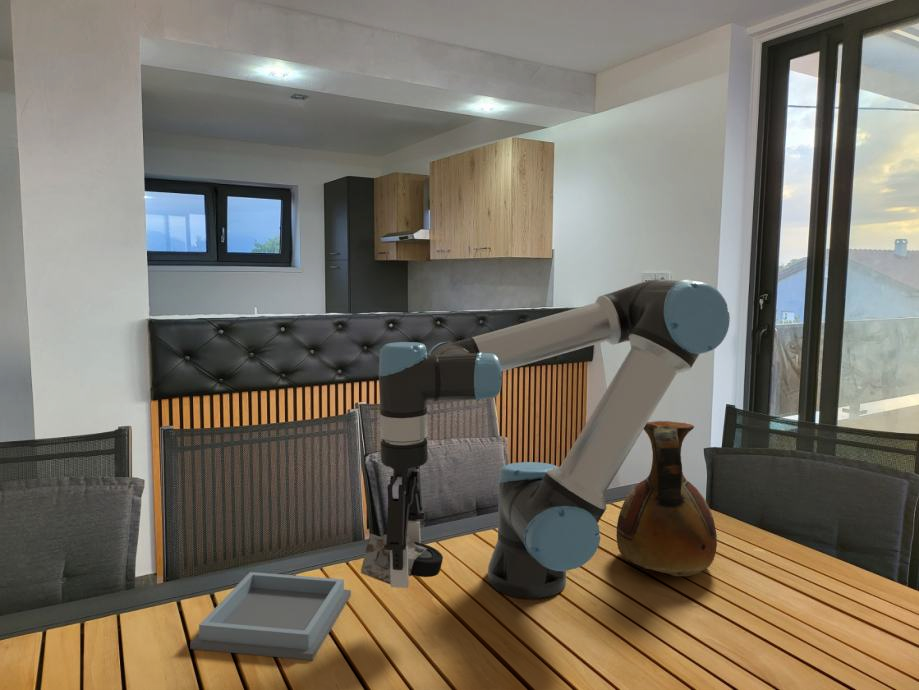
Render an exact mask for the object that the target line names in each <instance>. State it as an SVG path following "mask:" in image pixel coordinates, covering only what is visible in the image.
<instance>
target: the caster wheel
mask: <svg viewBox="0 0 919 690" xmlns="http://www.w3.org/2000/svg"><path fill="white" fill-rule="evenodd" d="M386 540H387V533H385V534H384V535H382V536H379V535H377V534H374V533H369V536H368V541H367V545H366V549H365V553H364V557H363V560H362V565H361V569H360V573H361V574H363V575H365V576H367V577H369V578H373V579H375V580H377V581H379V582H383V583H385V584H388V585H390V586H391V577H390V550H386V549H385V548H384V545H386ZM406 546H408V577H412V576H414V577H419V578H431V577H436V576H437V575H439V573H440V572H441V568H442V565H443V559H444V556H443V555H442V553H441V552H440V551H439V550H438V549H436V548H435V547H432V546H430V545H428V544H425V543H421V542H420V543H418V542H413V540H412V539H411V538H410V537H409V536H408V535H407V539H406Z"/></svg>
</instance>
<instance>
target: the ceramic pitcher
mask: <svg viewBox="0 0 919 690" xmlns="http://www.w3.org/2000/svg"><path fill="white" fill-rule="evenodd" d="M693 429H695V425H693V424H692V423H686V422H677V421H669V420H663V421H662V420H655V421H648V422H647V424H646V425H645V427H644V429H643V430H644V432H645V434H647V436H648V438H649V441H650V444H651V451H652V463H651V469H650V471H649V475H648V476H647V477H646V478H645V479H643V480H641V481H640V482H639V483H638V484H636V485H635V486H634V488H633V489H632V490H630V491H629V493H628V495H627V496H626V497H625V499H624V502H623V504H622V506H621V509H620V511H619V513H618V517H617V518H618V519H617V524H616V543H617V549H618V551H619V553H620V555H622V557H624V558H625V559H626V560H629V561H630V562H632V563H633V564H635V565H637V566H640V567H643V568H644V569H647V570H652V571H656V572H659V573H665V574H668V575H671V576H674V577H689V576H694V575H697V574H699V573H701V572H703V571H705V570H706V569H708V568H710V566H711V565H712V563H713V562H714V560H715V558H716V557H715V556H716V552H717V547H718V541H717V540H718V538H717V537H718V536H717V530H716V524H715V520H714V517H713V513H712V511H711V509H710V507H709V505H708V502H707V500H706V499H705V498H704V496H703V495H702V493H701V492H700V491H699V490H698V489H697V487H695V486H694V485H693V484H692V483H691V482H690V481H688V480H687V478H686V477H685V476H684V475H685V474H684V473H683V465H682V456H681V454H682V444H683V442H684V440H685V437H687V435H688V434H689V433H690V432H691V431H692V430H693Z"/></svg>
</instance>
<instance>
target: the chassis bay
mask: <svg viewBox="0 0 919 690" xmlns="http://www.w3.org/2000/svg"><path fill="white" fill-rule="evenodd" d="M350 597H352V590H351V589H345V579H343V578H332V577H319V576H306V575H293V574H292V575H291V574H280V573H279V574H278V573H266V572H254V571H250V572H248V574H246V575H245V577H243V579H241V581H240V582H239V583H238V584H237V585H236V586H235V587H234V588H233V589H232V590H231V591H230V592H229V593H228V594H227V595H226V596H225V597H224V598H223V599H222V600H221V601H220V603H218V605H217V606H216V607H215V608H214V609H213V610H212V611H211V612H209V614H208V615H207V616H206V617H205V618H204V619H203V620H202V621H201V622H200V623H199V624H198V634H197V635H196V636H195V637H194V638H193V639H192V640H191V641H190V643H189V647H190V650H199V651H210V652H211V651H212V652H222V653H231V654H241V655H242V654H243V655H253V656H263V657H275V658H285V659H286V658H287V659H295V660H306V661H314V659H315V657H316V655H317V653H318V652H319V650H320V649H321V647H322V645H323V644H324V642H325V640H326V639H327V637H328V635H329V633H330V632H331V630H332V629H333V626H334V625H335V623H336V621H337V619H338V618H339V616H340V615H341V613H342V611H343V609H344V608H345V606H346V604H347V602H348V600H350Z"/></svg>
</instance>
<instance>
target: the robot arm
mask: <svg viewBox="0 0 919 690" xmlns="http://www.w3.org/2000/svg"><path fill="white" fill-rule="evenodd" d="M728 309H729V308H728V304H727V301H726V299H725V298H724V296H723V295H722V293H721V291H719V290H718V289H717V288H715V287H714V286H712V285H711V284H708V283H706V282H702V281H697V280H693V279H682V280H669V279H651V280H646V281H642V282H638V283H636V284H633V285H630V286H628V287H624V288H621V289H619V290H615V291H612V292H610V293H605V294H603V295H599V296H597V298H596V300H595V302H594V303H590V304H587V305H584V306H579V307H576V308H572V309H569V310H565V311H562V312H558V313H554V314H551V315H547V316H544V317H540V318H537V319H533V320H529V321H525V322H521V323H519V324H516V325H511V326H508V327H505V328H502V329H498V330H494V331H491V332H486V333H483V334H479V335H476V336H472V337H470V338H464V339H461V340H458V341H454V342H453V341H444V342H443V341H442V342H439V343H437V344H436V345H434V346H432V348H431V349H430V350H429V352H428V351H427V347H426V346H427V345H425V344H424V343H422V342H416V341H415V342H414V341H411V342H409V341H398V342H397V341H396V342H390V343H385V344H384V345H383V346H381V348H380V350H379V356H378V358H379V359H378V360H379V361H378V362H379V363H378V385H379V388H378V391H379V392H378V393H379V413H380V417H377V420H376V422H377V424H380V437H381V438H382V440H381V441H380V461H381V463H382V465H383V466H385V467H389V468H390V469H392V471H393V472H392V475H391V476H390V479H389V484H387V489H386V490H387V516H386V518H387V519H386V520H387V521H386V534H387V540H386V545H384V548H385V549H386V550H390V577H391V585H390V588H398V589H399V588H400V589H408V588H409V585H410V584H409V582H410V581H409V576H408V546H406V539H407V535H408V536H409V537H410V538H411V539H412V540H413V542H418V543H421V521H422V520H425V516H426V515H425V513H422V511H423V508H424V507H423V501H422V488H421V487H422V485H421V466H423V465H425V464H426V463H427V461H428V459H429V457H428V450H429V449H428V440H427V439H426V438H427V436H428V435H429V433H428V432H429V430H428V427H429V426H428V424H429V423H428V408H427V406H428V402H447V401H448V402H449V401H474V400H475V401H476V400H477V401H481V400H486V399H487V400H488V399H494V398H496V397H498V396H499V394H500V392H501V389H502V381H503V380H502V379H503V378H502V377H503V375H502V372H505V371H508V370H511V369H515V368H517V367H521V366H526V365H528V364H532V363H536V362H538V361H542V360H545V359H550V358H553V357H556V356H560V355H562V354H563V355H564V354H567V353H570V352H574V351H578V350H580V349H581V350H582V349H584V348H587V347H591V346H594V345H598V344H601V343H604V342H607V343H609V344H610V345H613V346H614V345H617V344H621V343H625V342H629V344H630V350H629V352H628V353H627V355H626V357H625V358H624V360H623V361H622V363H621V364H620V367H619V368H618V370H617V371H616V373H615V375H614V377H613V379H612V380H611V382H610V383H609V385H608V387H607V389H605V392H604V393H603V395H602V396H601V398H600V400H599V402H598V403H597V405H596V407H595V408H594V410H593V411H592V413H591V415H590V416H589V418H588V420H587V422H586V424H585V425H584V426H583V428H582V430H581V432H580V433H579V434H578V437H577V438H576V440H575V441H574V443H573V445H572V447H571V448H570V450H569V452H568V454H567V455H566V456H565V458H564V460H563V462H562V463H561V465H560V466H558V465H555V464H552V463H546V462H537V461H536V462H533V461H527V462H526V461H525V462H524V461H523V462H512V463H509V464H505V465H504V466H502V467H501V469H500V471H499V477H498V481H497V485H498V509H497V510H498V511H497V513H498V517H497V519H498V520H497V540H496V545H495V547H494V550H493V552H492V554H491V558H490V560H489V563H488V567H487V580H488V582H489V585H491V587H492V588H494V589H495V590H497V591H498V592H500V593H501V594H505V595H507V596H510V597H513V598H519V599H527V600H529V599H530V600H533V599H534V600H537V599H544V598H549V597H553V596H555V595H557V594H559V593H560V592H562V591H563V590H564V589H565V587H566V583H567V572H568V571H570V570H574V569H575V570H576V569H579V568H580V567H582V566H584V565H585V564H587V563H588V562H589V561H590V560H591V559H592V558H593V556H594V555H595V554H596V552H597V550H598V549H599V545H600V542H601V533H600V526H599V522H600V521H601V518H602V517H603V515H604V513H605V512H606V510H607V503H606V499H605V494H606V492H607V490H608V488H609V487H610V485H611V483H612V482H613V480H614V479H615V477H616V475H617V473H618V472H619V470H620V468H621V467H622V466H623V464H624V462H625V460H626V459H627V457H628V455H629V454H630V452H631V451H632V448H633V447H634V445H636V442H637V440H638V439H639V437H640V436H641V434H642V432H643V430H644V427H645V425H646V424H647V422H649V420H650V419H651V417H652V415H653V414H654V412H655V411H656V409H657V407H658V406H659V404H660V402H661V400H662V399H663V397H664V395H665V394H666V392H667V390H668V388H669V387H670V386H671V383H672V382H673V381H674V379H675V377H676V376H677V375H678V374H680V373H685V372H687V371H690V370H692V369H691V368H692V367H693V365H694V363H695V362H696V361H697V359H698V358H699V356H700V355H701V354H706V353H708V352H711V351H713V350H715V349H717V347H719V346H720V345H721V344H722V343H723V341H724V339H725V338H726V336H727V334H728V332H729V328H730V320H731V319H730V312H729V310H728ZM420 520H421V521H420Z"/></svg>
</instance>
